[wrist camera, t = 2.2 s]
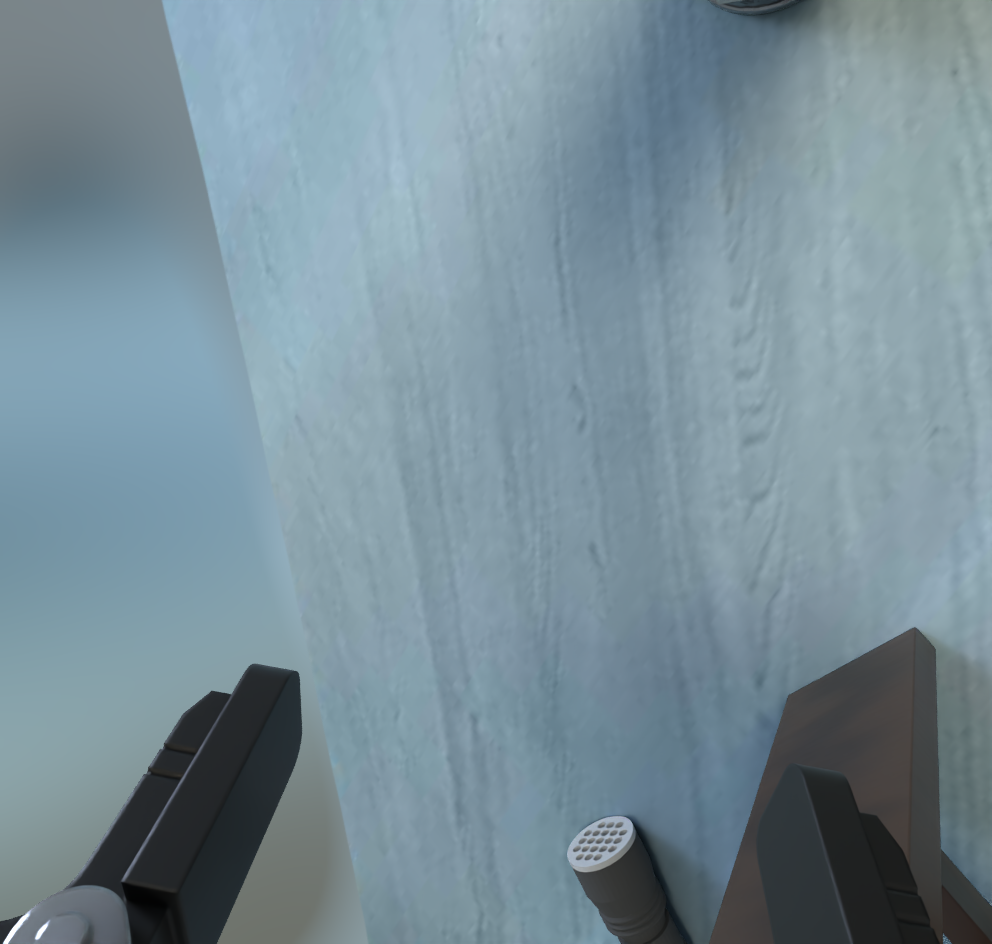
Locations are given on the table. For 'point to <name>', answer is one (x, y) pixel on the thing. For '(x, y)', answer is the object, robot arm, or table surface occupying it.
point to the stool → (867, 783)
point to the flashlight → (622, 882)
